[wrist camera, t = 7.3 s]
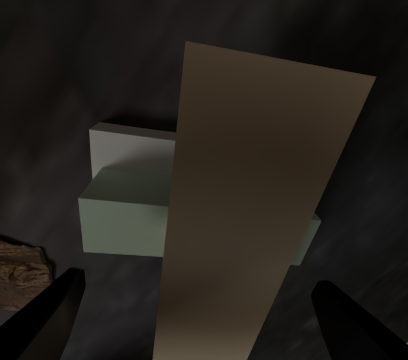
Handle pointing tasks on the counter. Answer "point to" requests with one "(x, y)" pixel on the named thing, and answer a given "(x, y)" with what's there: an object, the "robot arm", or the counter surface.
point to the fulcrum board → (131, 148)
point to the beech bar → (244, 191)
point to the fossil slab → (22, 275)
